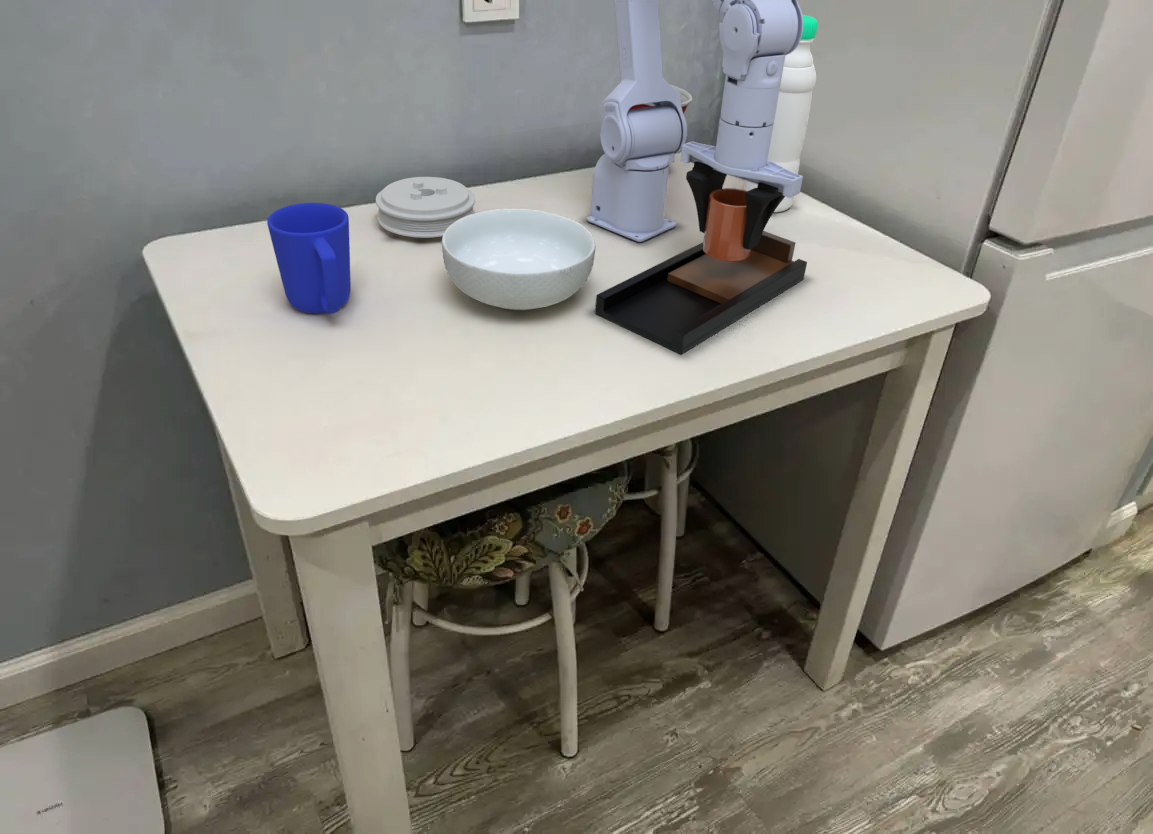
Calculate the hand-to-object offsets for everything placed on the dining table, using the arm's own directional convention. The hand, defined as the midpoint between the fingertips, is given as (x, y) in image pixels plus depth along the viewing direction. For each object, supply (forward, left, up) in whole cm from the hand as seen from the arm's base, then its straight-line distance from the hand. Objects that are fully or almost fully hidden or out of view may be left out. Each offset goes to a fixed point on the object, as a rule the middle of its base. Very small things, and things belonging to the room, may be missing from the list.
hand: (728, 238), depth 103 cm
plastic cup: (-30, +24, -6) cm, 39 cm away
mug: (-27, -37, -6) cm, 46 cm away
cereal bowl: (-15, -19, -6) cm, 25 cm away
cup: (0, 0, -2) cm, 2 cm away
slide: (0, +2, -5) cm, 6 cm away
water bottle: (-10, +26, -6) cm, 29 cm away
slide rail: (0, -3, -6) cm, 7 cm away
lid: (-37, -14, -6) cm, 40 cm away
